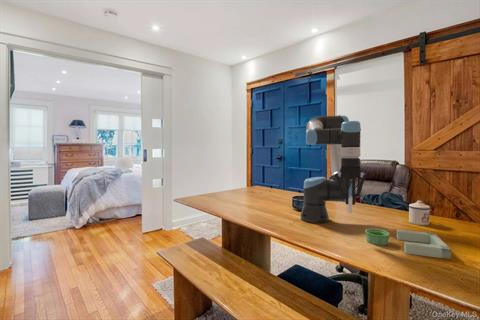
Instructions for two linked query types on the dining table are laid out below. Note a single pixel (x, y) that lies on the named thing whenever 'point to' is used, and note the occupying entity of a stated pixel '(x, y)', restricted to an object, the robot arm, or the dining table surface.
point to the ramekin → (377, 236)
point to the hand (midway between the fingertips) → (350, 211)
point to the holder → (432, 249)
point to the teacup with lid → (419, 213)
